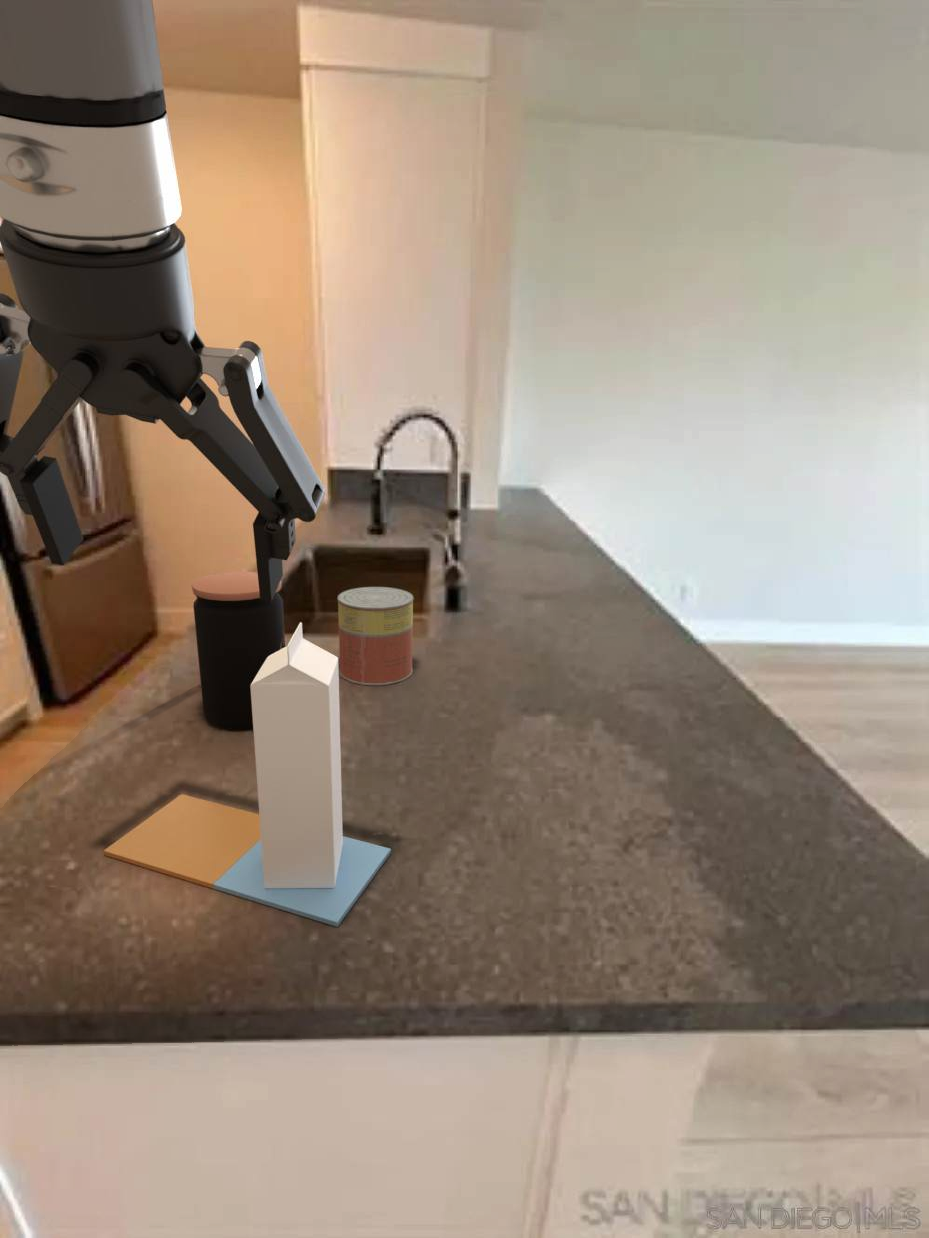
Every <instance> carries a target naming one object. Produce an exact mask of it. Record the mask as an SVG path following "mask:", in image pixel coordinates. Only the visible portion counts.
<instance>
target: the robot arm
mask: <svg viewBox="0 0 929 1238" xmlns="http://www.w3.org/2000/svg"><path fill="white" fill-rule="evenodd" d="M155 17H156V16H155V9H154V3H153V0H0V218H2V219H3V220H2V221H1V224H0V246H1V249H2V252H3V255H4V258H5V261H6V264H7V268H8V272H9V274H10V278H11V279H12V283H13V287H14V289H15V293H16V296H17V300H18V302H19V305H20V307H21V309H19V307H18V304H17V303H16V301H15V300H14V299H13V298H12V297H10V296H9V295H7V294H5V293H0V473H1V474H2V475H4V476H6V478H7V480H8V482H9V484H10V487H11V489H12V492H13V494H14V497H15V499H16V502H17V504H18V506H19V508H20V510H22V512H23V513H24V514H25V515H28V516H32V517H33V520H34V523H35V525H36V527H37V530H38V532H39V535H40V537H41V540H42V542H43V545H44V548H45V550H46V553H47V555H48V558H49V560H50V564H52V565H58V566H65V564H66V563H67V562H68V560H69V559H70V558H71V557H72V555H73V554H74V553H75V551H76V550H77V549H78V547H79V546H80V545H81V543H82V542H83V541H84V537H83V533H82V531H81V527H80V525H79V524H80V523H79V522H78V518H77V515H76V513H75V510H74V507H73V504H72V501H71V497H70V495H69V492H68V490H67V489H68V488H67V486H66V482H65V480H64V477H63V474H62V472H61V468H60V465H59V462H58V459H57V457H51V456H47V455H43V456H42V457H41V458H40V459H38V457H37V456H38V455H39V454H40V453H41V452H42V451H43V450H44V449H45V448H46V446H47V445H48V443H49V442H50V440H51V439H52V438H53V437H54V435H55V434H56V432H58V430H59V429H60V428H61V427H62V425H63V424H64V423H65V422H66V420H67V419H68V418H69V416H70V415H71V414H72V413H73V411H74V410H75V409H76V408H77V406H78V405H79V404H80V402H82V401H84V402H85V403H86V404H88V405H89V406H90V407H93V408H95V410H96V411H95V412H96V413H97V414H101V415H106V416H128V417H129V418H132V419H134V420H138V421H140V422H143V423H148V424H149V423H150V424H154V425H155V424H157V423H158V422H159V421H161V422H162V423H163V424H164V425H165V426H166V427H167V428H168V429H169V430H170V431H171V432H172V433H173V434H174V435H175V437H177V438H178V439H180V440H187V441H189V442H190V443H191V444H192V445H193V446H194V447H195V448H196V449H197V450H198V451H199V452H200V453H201V454H202V455H203V456H204V457H205V458H206V459H207V460H208V461H209V462H210V463H211V465H212V466H213V467H214V468H215V469H217V471H218V472H219V473H220V474H221V475H222V476H223V477H224V478H225V479H226V480H227V481H228V482H229V483H230V485H232V486H233V487H234V488H235V490H237V491H238V492H239V494H241V495H242V496H243V497H244V499H246V500H247V502H248V503H249V504H250V505H251V506H252V507H253V508H254V509H255V510H256V511H257V512H258V513H257V514H256V517H255V518H254V520H253V522H252V530H253V531H252V532H253V541H254V551H255V561H256V572H257V573H258V583H259V593H260V600H262V601H268V602H272V600H273V597H274V595H275V593H276V590H277V588H278V585H279V583H280V581H282V578H283V575H284V570H283V561H288V559H289V557H290V556H291V553H292V550H293V549H294V546H295V544H296V540H297V539H296V519H298V520H300V521H302V522H304V523H311V522H313V521H314V520H315V519H316V518H317V515H318V512H319V510H320V507H321V504H322V503H323V500H324V497H325V495H326V489H325V486H324V484H323V483H322V480H321V479H320V477H319V475H318V474H317V471H316V470H315V468H314V466H313V464H312V462H311V460H310V459H309V456H308V454H307V453H306V451H305V450H304V447H303V446H302V444H301V442H300V440H299V439H298V437H297V434H296V433H295V431H294V429H293V427H292V426H291V424H290V422H289V419H288V418H287V416H286V415H285V413H284V411H283V409H282V407H281V405H280V403H279V402H278V400H277V398H276V396H275V395H274V392H273V391H272V389H271V387H270V385H269V384H268V383H269V382H268V378H267V372H266V367H265V361H264V355H263V351H262V348H261V347H260V346H259V345H258V344H257V343H255V342H254V341H251V340H244V341H242V342H241V343H240V344H239V345H238V347H237V348H224V347H223V348H222V347H211V346H206V345H205V343H204V342H203V340H202V338H201V336H200V334H199V332H198V330H197V328H196V321H195V301H194V300H195V299H194V293H193V287H192V280H191V279H192V278H191V271H190V263H189V257H188V250H187V243H186V237H185V234H184V233H183V231H182V230H181V228H179V227H178V225H177V224H176V222H177V220H178V219H179V218H180V217H181V215H182V210H183V208H182V203H181V202H182V201H181V195H180V189H179V182H178V176H177V169H176V163H175V156H174V149H173V144H172V143H173V142H172V138H171V130H170V124H169V118H168V112H167V104H166V97H165V96H166V95H165V92H164V82H163V74H162V66H161V59H160V49H159V41H158V33H157V26H156V25H157V24H156V19H155ZM30 345H31V346H32V347H33V349H34V350H35V351H36V352H37V353H38V354H39V355H40V357H42V358H43V359H44V361H45V362H46V363H47V364H48V365H49V366H50V367H51V368H52V369H53V370H54V371H55V372H56V373H57V374H58V376H57V377H56V379H55V380H54V381H53V382H52V384H51V385H50V386H49V388H48V389H47V391H45V393H44V394H43V396H42V398H41V399H40V403H38V405H37V406H36V407H35V409H34V410H33V412H32V413H31V415H30V416H29V417H28V418H27V419H26V421H25V423H23V425H22V426H21V427H20V428H19V431H18V432H17V433H16V434H15V436H14V437H12V436H10V435H8V430H9V424H10V421H11V415H12V411H13V405H14V401H15V397H16V393H17V388H18V383H19V379H20V378H19V377H20V373H21V369H22V365H23V360H24V355H25V349H26V348H28V347H29V346H30ZM203 375H207V376H209V377H211V378H212V379H213V380H214V381H215V382H216V384H217V386H218V389H217V391H218V393H219V394H220V395H221V396H223V397H225V398H226V397H228V399H229V401H230V404H231V407H232V410H233V412H234V414H235V416H236V418H237V419H238V421H239V422H240V425H241V426H242V428H243V429H244V431H245V433H246V435H247V436H246V435H245V433H244V432H243V431H242V429H240V428H239V427H238V426H237V425H236V423H234V421H233V420H232V419H231V418H230V417H229V415H227V413H225V411H224V410H223V409H222V408H221V406H220V401H219V398H218V396H217V395H216V394H215V392H214V391H213V390H212V389H211V388H210V386H209V385H207V384H206V382H205V381H204V380H203V379H202V378H201V377H202V376H203ZM185 399H188V400H189V402H190V404H191V407H190V408H189V409H188V411H187V410H186V409H185V408H184V407H183V406H182V403H183V402H184V400H185Z"/></svg>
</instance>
